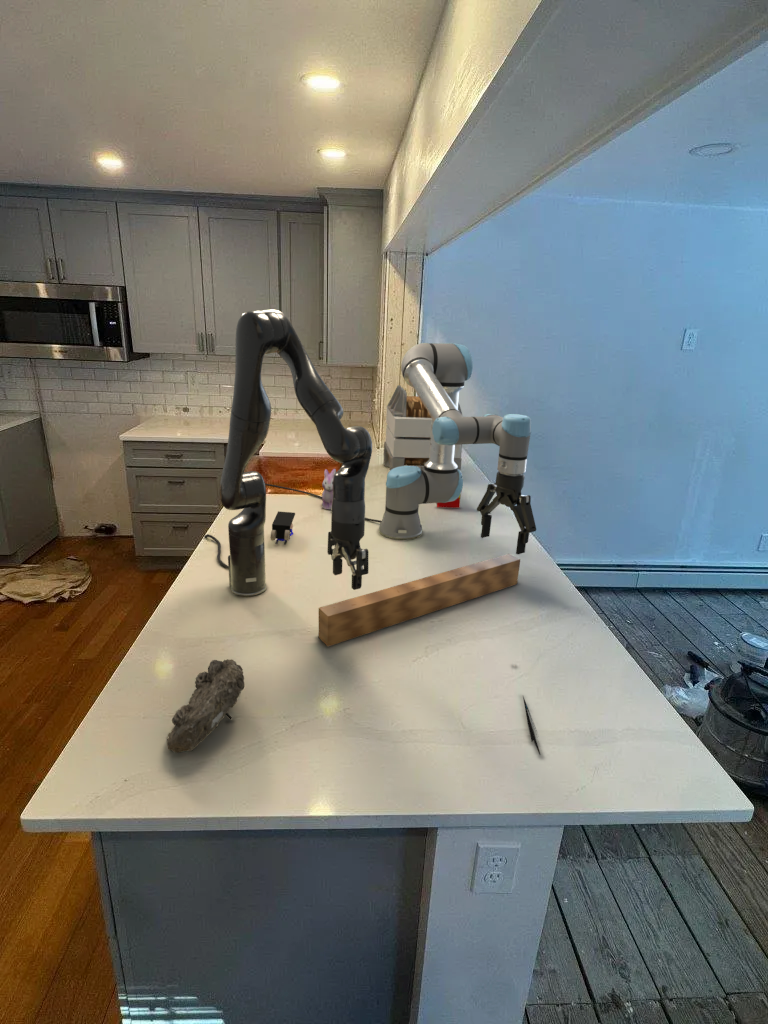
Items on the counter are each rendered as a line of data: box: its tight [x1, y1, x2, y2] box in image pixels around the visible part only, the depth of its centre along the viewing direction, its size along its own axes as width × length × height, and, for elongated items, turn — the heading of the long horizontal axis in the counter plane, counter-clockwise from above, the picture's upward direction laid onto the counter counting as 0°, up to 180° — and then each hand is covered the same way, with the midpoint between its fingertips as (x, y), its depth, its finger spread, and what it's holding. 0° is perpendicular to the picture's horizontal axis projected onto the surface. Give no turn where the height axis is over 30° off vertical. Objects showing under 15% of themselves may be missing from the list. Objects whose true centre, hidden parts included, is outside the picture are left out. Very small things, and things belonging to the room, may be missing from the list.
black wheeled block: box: [270, 510, 296, 546], centre depth 190 cm, size 7×8×15 cm
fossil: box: [166, 658, 245, 754], centre depth 106 cm, size 22×10×15 cm
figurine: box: [321, 468, 337, 510], centre depth 222 cm, size 9×10×15 cm
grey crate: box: [383, 384, 463, 472], centre depth 268 cm, size 34×33×41 cm
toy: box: [436, 494, 461, 509], centre depth 239 cm, size 12×13×30 cm
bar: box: [318, 553, 521, 647], centre depth 150 cm, size 64×5×8 cm, turn 125°
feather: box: [513, 664, 541, 755], centre depth 114 cm, size 2×28×2 cm
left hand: (346, 581), depth 132 cm, fingers open, 8 cm apart
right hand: (502, 544), depth 161 cm, fingers open, 13 cm apart
